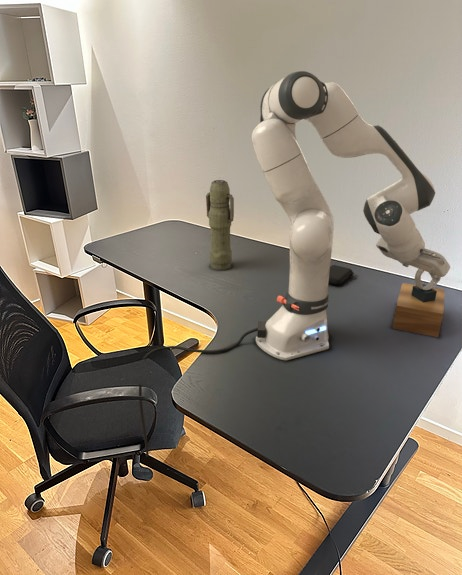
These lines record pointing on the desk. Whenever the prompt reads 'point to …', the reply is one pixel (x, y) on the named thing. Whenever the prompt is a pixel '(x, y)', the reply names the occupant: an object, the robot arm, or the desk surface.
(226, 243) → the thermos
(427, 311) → the wooden display stand
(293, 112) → the robot arm
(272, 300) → the desk surface
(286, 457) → the desk surface
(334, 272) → the carrying case
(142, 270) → the desk surface
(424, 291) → the watch
